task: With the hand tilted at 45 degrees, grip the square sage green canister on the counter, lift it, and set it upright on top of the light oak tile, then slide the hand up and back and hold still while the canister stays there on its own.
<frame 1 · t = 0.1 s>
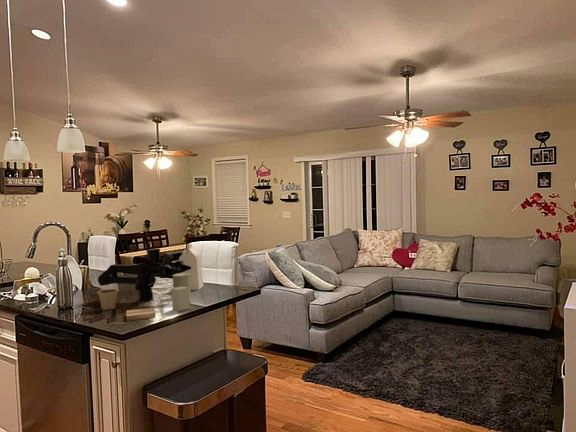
hand: (186, 269, 219), 17 cm above the counter, tool horizontal, fingers open, 9 cm apart
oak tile: (140, 317, 195), on the counter
can: (182, 296, 235), on the counter
milk: (191, 288, 256), on the counter
flower pot: (108, 308, 212), on the counter
canister: (181, 309, 205), on the counter
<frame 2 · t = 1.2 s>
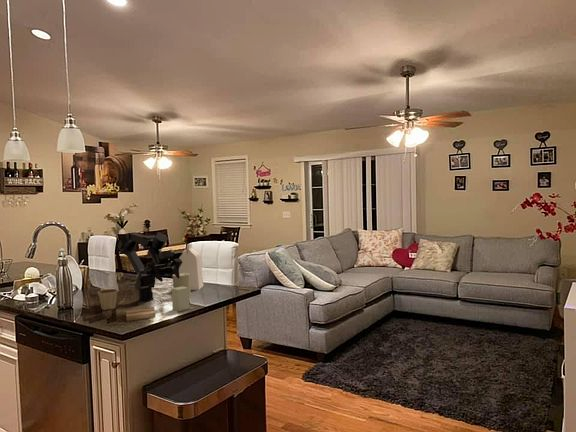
hand: (170, 279, 209), 13 cm above the counter, tool tilted 45°, fingers open, 9 cm apart
nothing on the counter moved.
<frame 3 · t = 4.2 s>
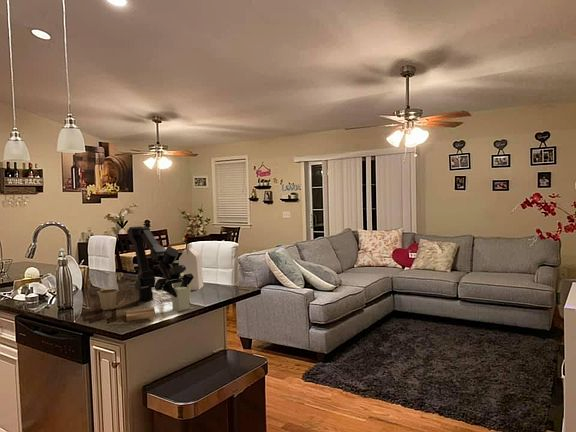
hand: (182, 295, 203), 7 cm above the counter, tool tilted 45°, fingers closed on canister, 6 cm apart
canister: (181, 309, 205), on the counter, touching gripper
everything else where it was.
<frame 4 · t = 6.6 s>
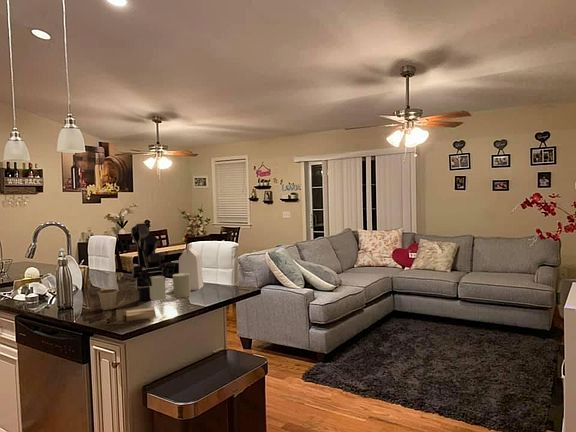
hand: (157, 284, 196), 13 cm above the counter, tool tilted 45°, fingers closed on canister, 6 cm apart
canister: (157, 298, 198), point 7 cm above the counter, touching gripper
everything else where it was.
when the fingers open (10 cm above the counter, at t = 9.1 s): canister drops 1 cm, resting on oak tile.
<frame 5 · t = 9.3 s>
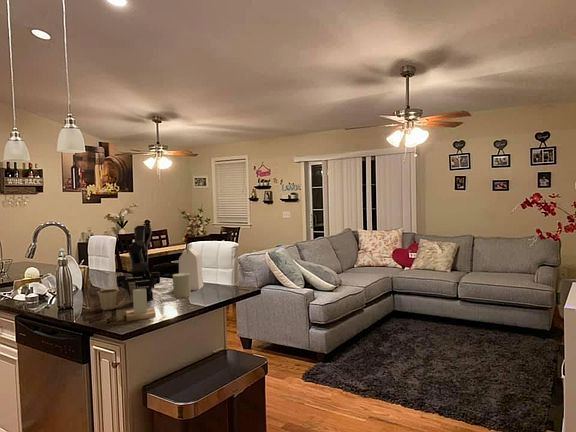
hand: (139, 294, 193), 10 cm above the counter, tool tilted 45°, fingers open, 8 cm apart
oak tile: (140, 317, 195), on the counter, touching canister
canister: (140, 311, 195), point 2 cm above the counter, touching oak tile
everything else where it was.
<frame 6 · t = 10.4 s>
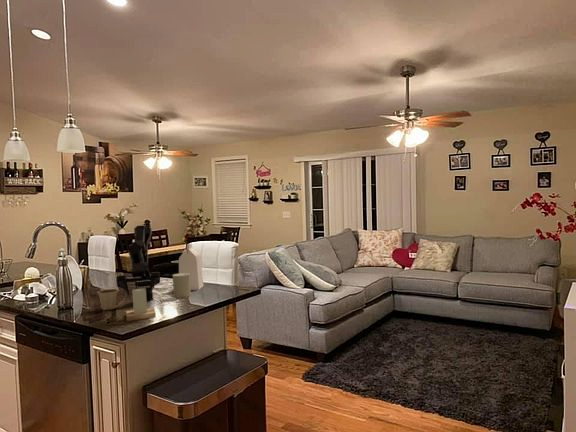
hand: (139, 294, 193), 10 cm above the counter, tool tilted 45°, fingers open, 9 cm apart
nothing on the counter moved.
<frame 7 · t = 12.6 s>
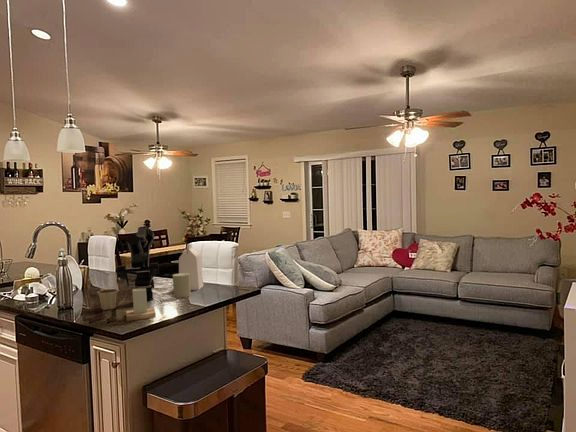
hand: (139, 284, 198), 13 cm above the counter, tool tilted 45°, fingers open, 9 cm apart
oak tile: (140, 317, 195), on the counter
canister: (140, 311, 195), point 2 cm above the counter
everything else where it was.
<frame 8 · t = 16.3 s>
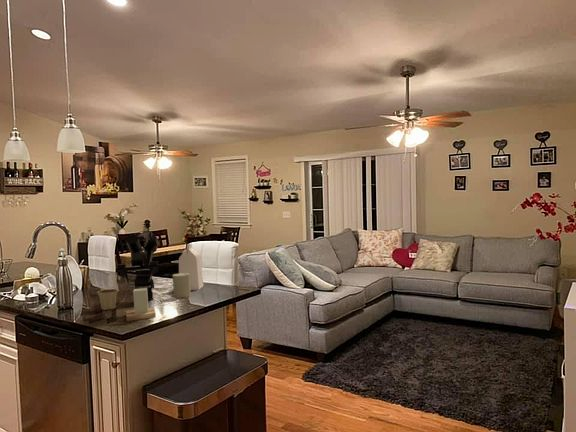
hand: (138, 282, 203), 14 cm above the counter, tool tilted 45°, fingers open, 9 cm apart
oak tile: (140, 317, 195), on the counter, touching canister
canister: (141, 311, 195), point 2 cm above the counter, touching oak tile
everything else where it was.
at the end: canister inside the target area on the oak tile (0.5 cm from its centre), point 2.5 cm above the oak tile's base; canister tilted 0°; the gripper is holding nothing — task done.
